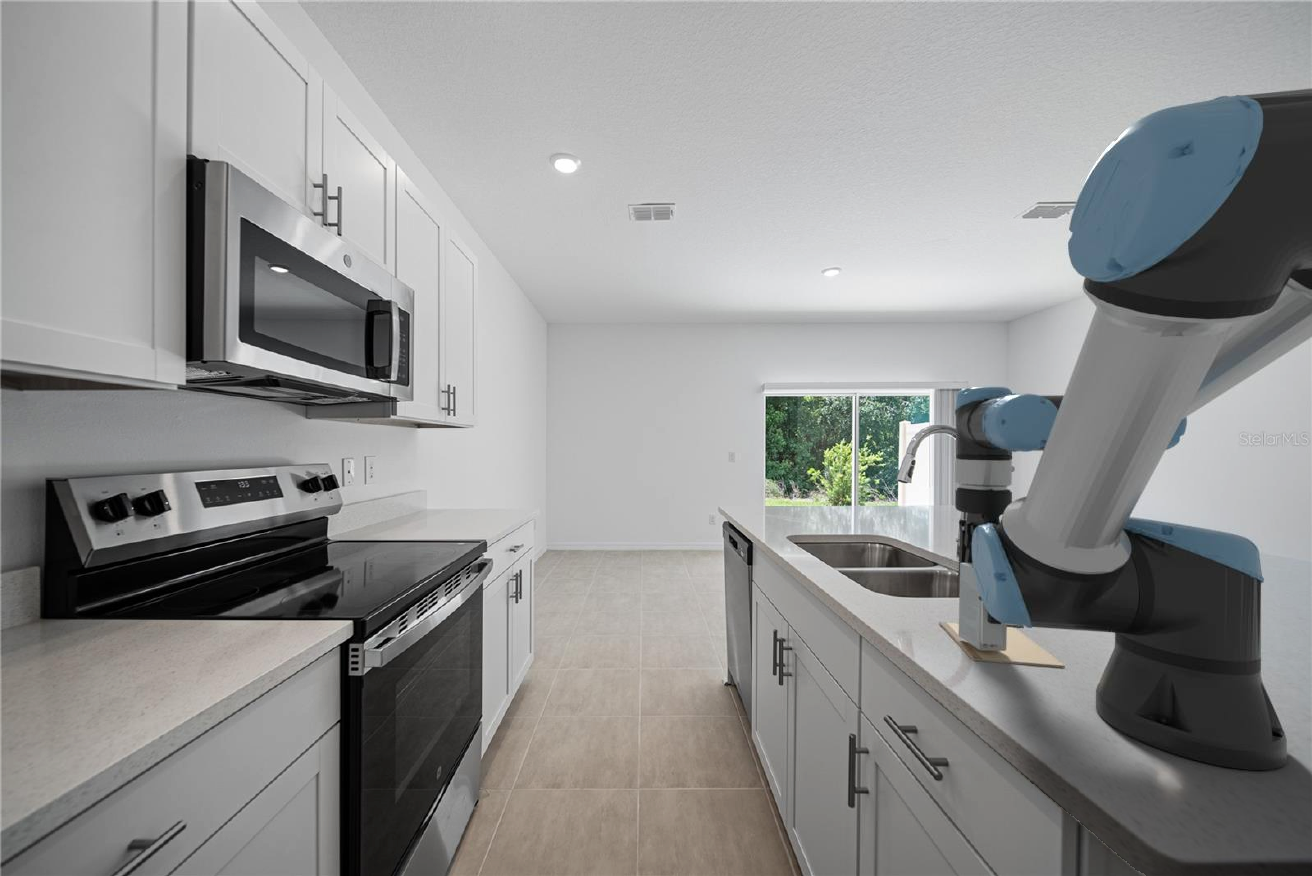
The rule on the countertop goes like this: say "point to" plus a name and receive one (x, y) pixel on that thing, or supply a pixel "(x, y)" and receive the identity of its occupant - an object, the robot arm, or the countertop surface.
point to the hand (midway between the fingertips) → (982, 634)
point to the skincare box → (973, 611)
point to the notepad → (1016, 649)
